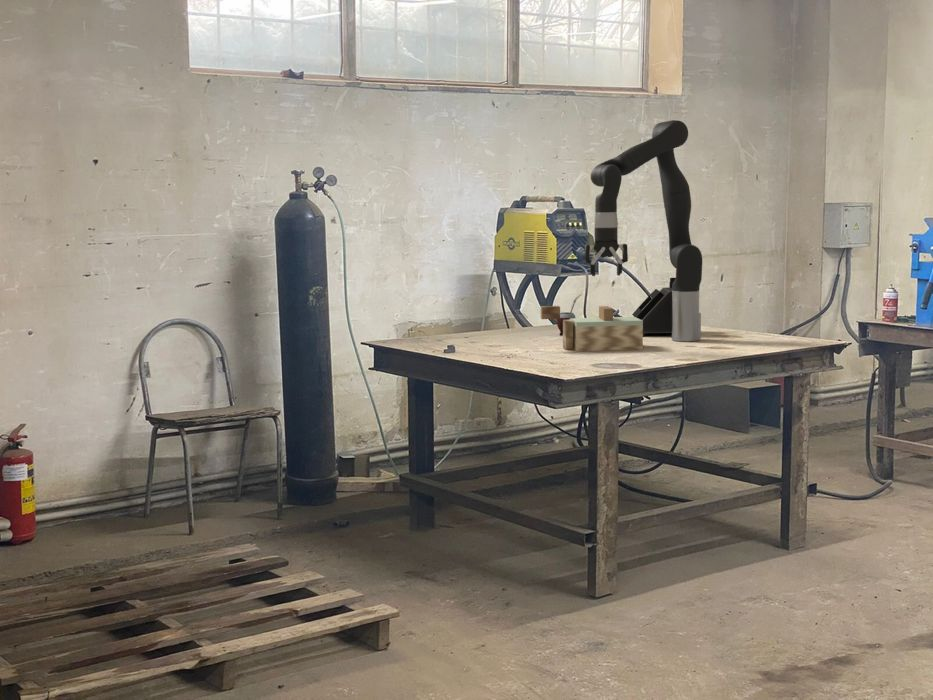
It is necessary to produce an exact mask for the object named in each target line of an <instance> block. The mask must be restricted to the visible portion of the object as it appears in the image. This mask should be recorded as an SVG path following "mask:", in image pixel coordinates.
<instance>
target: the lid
mask: <svg viewBox="0 0 933 700" xmlns="http://www.w3.org/2000/svg"><path fill="white" fill-rule="evenodd" d="M570 320H572V321H573V325H574V326H576V327H592V326H629V325H643V320H640V319H638V318H636V317H634V316H614V308H612V307H610V306H609V305H607V306H605V305H604V306H603V305H601V306H598V317H575V318H570Z"/></svg>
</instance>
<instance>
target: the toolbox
mask: <svg viewBox="0 0 933 700" xmlns="http://www.w3.org/2000/svg"><path fill="white" fill-rule="evenodd" d="M643 338H644V336H643V325H629V326H592V327H576V326H574V325H573V321H572V320H563V336H562V348H563V349H564V350H565V351H571V350H572V351H576V352H588V351H589V352H591V351H592V352H596V351H597V352H599V351H624V350H625V351H627V350H628V351H631V350H633V351H634V350H635V349H636V350H643V349H644V348H643V346H644V343H643V342H644V341H643Z"/></svg>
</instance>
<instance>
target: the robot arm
mask: <svg viewBox="0 0 933 700" xmlns="http://www.w3.org/2000/svg"><path fill="white" fill-rule="evenodd" d="M688 138H689V129H688V126H687V124H685V123H684V122H683V121H681V120H677V119H673V120H667V121H662V122H661V121H660V122H659V123H656V124H655V125H654V127H653V128H652V133H651V138H650V139H647V140H645V141H643V142H641V143H638V144H636V145H634V146H632V147H630V148H628V149H627V150H624V151H623V152H622V153H620V154H618V155H616V156H615V157H612V158H610V159H608V160H605V161H603V162H601V163H599V164H597V165H595V167H594V168H593V169H592V170H591V173H590V181H591V182H592V184H593V185H594V186H596V187H600V188H601V187H603V188H602V192H601V193H600V194H597V195H596V196H595V199H594V201H595V202H594V208H595V209H594V242H593V244H585V245H584V253H583V254H584V255H583V257H584V258H583V262H584V263H586V264H589V274H590V275H591V277H596V265H595V263H596V262H597V261H598V260H599V259H600V258H613V260H615V261H616V276H618V277H619V276H621V274H623V264H624V263H628V261H629V257H628V256H629V255H628V244H627V243H622V244H621V243H618V233H619V232H618V226H619V222H618V213H617V212H618V210H617V209H618V201H617V200H618V197H619V193H620V189H621V184H622V176H627V175H629V174H631V173H633V172H634V171H635V170H638V168H640V167H642V166H643V165H645V164H646V163H648V162H650V161H651V160H653V159H655V158H656V161H657V166H658V171H659V177H660V183H661V191H662V193H661V194H662V199H663V201H662V202H663V206H664V213H665V219H666V225H667V229H668V231H667V232H668V244H669V246H668V248H669V249H668V250H669V253H668V254H669V260H670V261H669V262H670V263H671V265H672V266H673V267H674V268H675V277H674V278H675V281H674V282H673V284H672V290H673V291H672V333H671V340H672V341H675V342H696V341H698V342H699V341H701V339H702V338H701V337H702V335H701V333H702V329H701V328H702V326H701V325H702V324H701V323H702V314H701V312H700V285H701V283H702V279H703V278H702V277H703V276H702V274H703V254H702V252H701V249H700V248H699V247H697V246H696V245H694V244H692V242H691V241H692V240H691V234H690V219H691V211H692V200H691V199H692V198H691V192H690V191H691V189H690V185H689V183H688V180H687V179H686V177H685V175H684V173H682V171H681V169H680V167H679V166H678V164H677V161H676V157H675V151H674V149H676V148H679V147H681V146H683V145H684V144H685V143H686V142H687V140H688ZM592 249H593V250H594V251H595V253H594V255H592V258H591V259H590V254H591V253H590V252H591V251H592ZM618 249H620V251H621V253H622V258H620V255H619V254H618V253H617V251H618Z"/></svg>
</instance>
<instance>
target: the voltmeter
mask: <svg viewBox="0 0 933 700" xmlns="http://www.w3.org/2000/svg"><path fill="white" fill-rule="evenodd" d="M675 278H676V277H670V278H669V282H668V283H669V285H668V286H669V287H662V288H661V289H660V290H658V289H657V288H655V289H654V290H653V291H652V292H651V293H650V294H649V295H648V296H647V297H646V299H644V301H643V302H641V304H640V305H639V306H638V307H637V308H636V309H635V311H634V312H633V313H632V314H631V315H632V317H636V318H638V319H640V320H643V337H645V336H646V334H664V333H665V334H670V333H671V334H672V291H673V290H672V284H673V282H674V281H675ZM650 296H651V297H652V299H651V298H650Z"/></svg>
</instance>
